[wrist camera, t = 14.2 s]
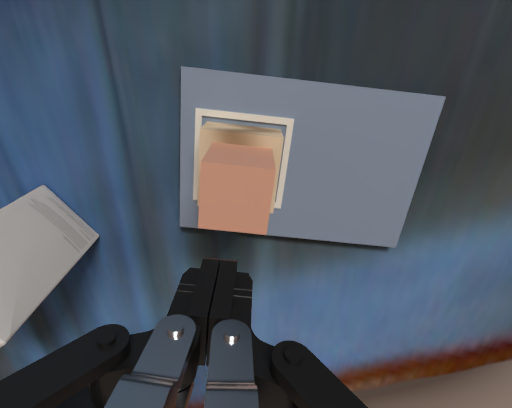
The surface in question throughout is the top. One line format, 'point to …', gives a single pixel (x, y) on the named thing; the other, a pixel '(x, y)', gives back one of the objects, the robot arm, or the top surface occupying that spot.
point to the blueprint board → (318, 150)
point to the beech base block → (241, 143)
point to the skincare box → (36, 253)
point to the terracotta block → (236, 188)
